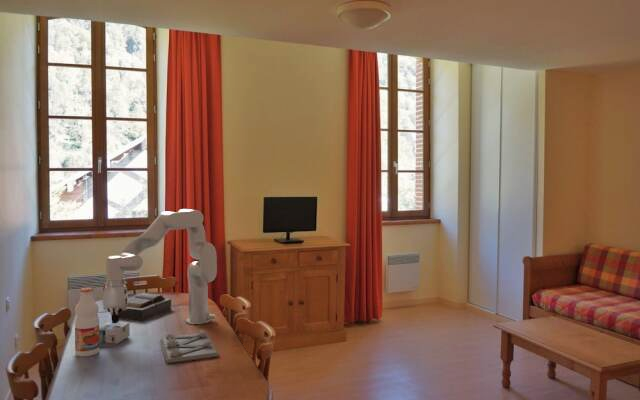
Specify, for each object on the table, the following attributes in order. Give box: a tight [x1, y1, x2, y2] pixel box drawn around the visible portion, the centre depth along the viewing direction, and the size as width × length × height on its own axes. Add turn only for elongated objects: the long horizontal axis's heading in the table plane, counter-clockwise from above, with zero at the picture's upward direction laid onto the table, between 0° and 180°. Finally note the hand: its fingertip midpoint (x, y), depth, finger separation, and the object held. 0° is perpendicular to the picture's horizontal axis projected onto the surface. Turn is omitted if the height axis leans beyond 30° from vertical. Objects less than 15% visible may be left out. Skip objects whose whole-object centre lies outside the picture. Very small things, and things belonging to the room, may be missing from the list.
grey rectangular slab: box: [160, 329, 220, 365], centre depth 213 cm, size 30×22×7 cm
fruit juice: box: [74, 286, 100, 358], centre depth 207 cm, size 9×9×28 cm
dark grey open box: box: [115, 292, 172, 322], centre depth 267 cm, size 23×27×10 cm
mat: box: [99, 342, 121, 348], centre depth 223 cm, size 14×16×1 cm
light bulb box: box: [99, 321, 130, 345], centre depth 223 cm, size 11×7×11 cm
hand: (115, 322), depth 222 cm, fingers closed
